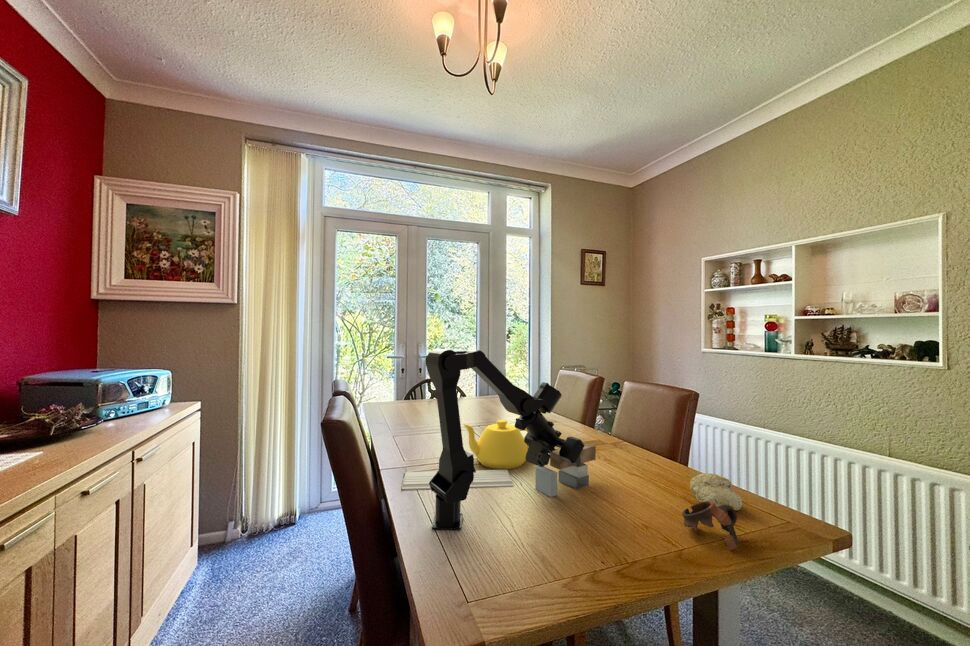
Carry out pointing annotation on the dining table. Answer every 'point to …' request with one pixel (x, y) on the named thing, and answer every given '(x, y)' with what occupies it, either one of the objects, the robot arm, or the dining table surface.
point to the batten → (585, 456)
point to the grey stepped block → (575, 476)
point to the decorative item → (715, 490)
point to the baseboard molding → (480, 480)
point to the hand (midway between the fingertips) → (567, 460)
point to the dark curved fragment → (704, 515)
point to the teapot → (499, 446)
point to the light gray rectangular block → (546, 481)
